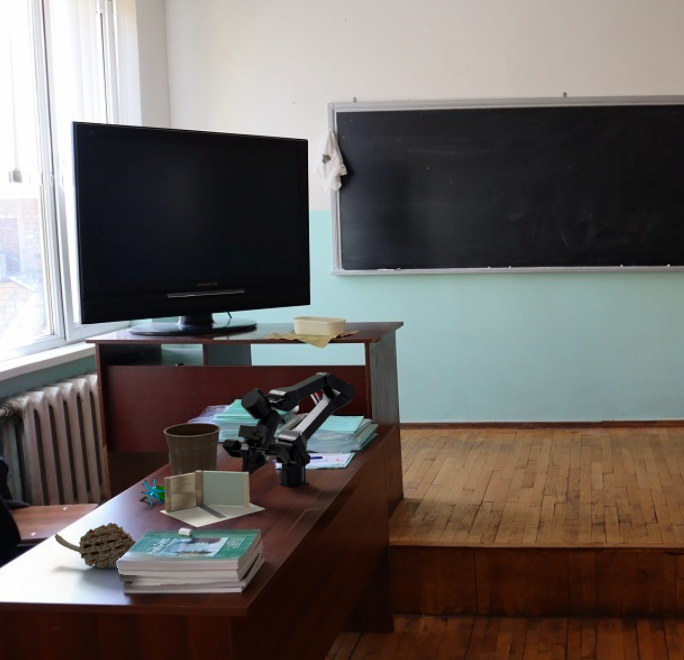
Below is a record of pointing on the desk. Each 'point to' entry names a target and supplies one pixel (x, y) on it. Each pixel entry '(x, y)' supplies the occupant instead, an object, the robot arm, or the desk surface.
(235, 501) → the sage fence panel
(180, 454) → the plant pot
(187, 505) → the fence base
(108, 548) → the pine cone
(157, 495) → the stick construction toy
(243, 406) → the robot arm
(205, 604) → the desk surface
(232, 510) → the card
